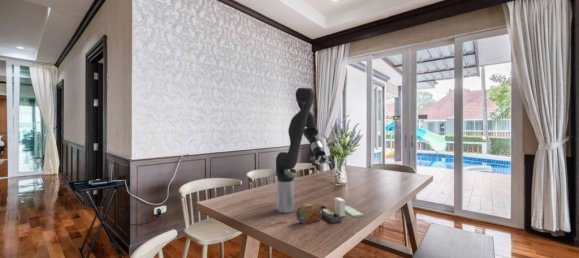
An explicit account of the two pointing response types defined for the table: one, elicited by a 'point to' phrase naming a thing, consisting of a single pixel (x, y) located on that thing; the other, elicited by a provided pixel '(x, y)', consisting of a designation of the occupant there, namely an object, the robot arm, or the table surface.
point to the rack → (331, 219)
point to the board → (352, 212)
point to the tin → (309, 213)
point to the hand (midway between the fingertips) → (325, 169)
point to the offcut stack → (328, 212)
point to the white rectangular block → (340, 206)
